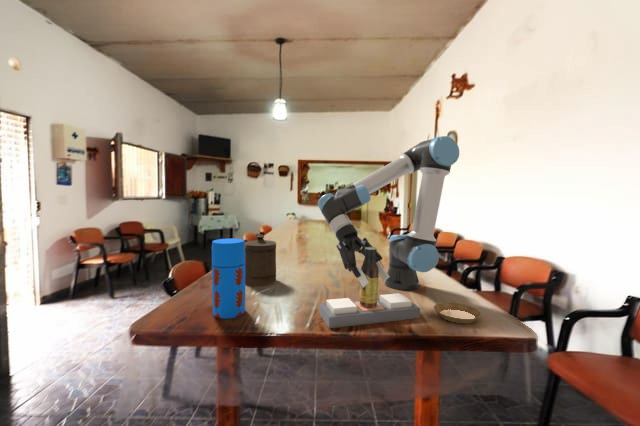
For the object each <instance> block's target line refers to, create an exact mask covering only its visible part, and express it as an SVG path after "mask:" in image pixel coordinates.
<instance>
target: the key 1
mask: <svg viewBox="0 0 640 426" xmlns="http://www.w3.org/2000/svg"><path fill="white" fill-rule="evenodd" d="M351 300H352V299H350V298H349V297H345V298H344V297H343V298H333V299H331V298H330V299H326V301H325V303H326V307H327V308H328V309H329V311H330V312H331V313H332V315H335V314H345V313H355V312H357V306H356V305H355V304H354V303H353V302H352V301H351Z"/></svg>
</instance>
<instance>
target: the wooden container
mask: <svg viewBox="0 0 640 426" xmlns="http://www.w3.org/2000/svg"><path fill="white" fill-rule="evenodd" d="M255 237H256V239H255V240H249V241H248V240H247V241H245V285H247V286H252V287H264V286H269V285H272V284H274V283H276V281H277V242H276V241H273V240H265V239H264V238H265V235H264V234H263V233H262V234H259V233H258V234H257V235H256V236H255Z"/></svg>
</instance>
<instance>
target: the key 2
mask: <svg viewBox="0 0 640 426" xmlns="http://www.w3.org/2000/svg"><path fill="white" fill-rule="evenodd" d="M379 298H380V302H382V303H383V304H384V305H386V306H387V307H388V308H389V309H394V308H404V307H412V303H413V301H412V300H411V299H409V298H407V296H405V295H403V294H401V293H390V294H379Z"/></svg>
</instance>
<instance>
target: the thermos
mask: <svg viewBox="0 0 640 426" xmlns="http://www.w3.org/2000/svg"><path fill="white" fill-rule="evenodd" d="M211 242H212V243H211V279H212V280H211V282H212V284H211V285H212V286H211V289H212V313H213V316H214V317H215V318H218V319H222V320H223V319H234V318H238V317H240V316H242V315H244V313H245V311H246V284H245V242H246V241H245V239H243V238H232V237H231V238H219V239H215V240H212V241H211Z"/></svg>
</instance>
